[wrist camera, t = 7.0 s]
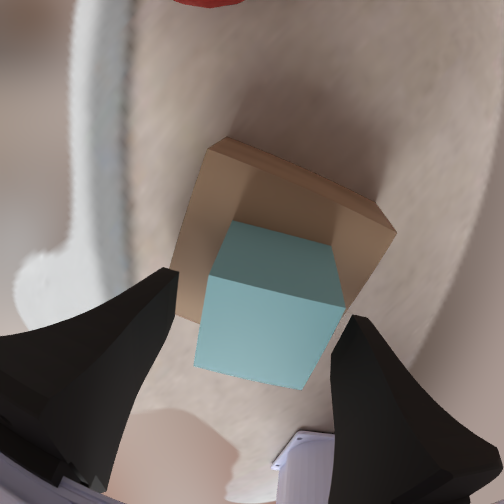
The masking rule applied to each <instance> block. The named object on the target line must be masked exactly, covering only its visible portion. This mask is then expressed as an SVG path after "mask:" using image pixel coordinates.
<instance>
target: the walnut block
mask: <svg viewBox="0 0 504 504" xmlns="http://www.w3.org/2000/svg"><path fill="white" fill-rule="evenodd" d="M232 220H233V221H237V222H241V223H245V224H249V225H253V226H257V227H261V228H265V229H268V230H272V231H276V232H280V233H284V234H288V235H292V236H295V237H299V238H303V239H307V240H311V241H314V242H318V243H322V244H326V245H329V246H331V247H332V251H333V255H334V259H335V263H336V267H337V271H338V276H339V280H340V284H341V289H342V293H343V297H344V302H345V307H346V309H345V311H344V313H343V315H344V314H345V312H346V311H347V309H348V308H349V307H350V305H351V304H352V302H353V301H354V299H355V298H356V297H357V295H358V294H359V292H360V291H361V289H362V288H363V286H364V285H365V283H366V282H367V280H368V279H369V277H370V276H371V274H372V273H373V271H374V269H375V268H376V266H377V265H378V263H379V262H380V260H381V259H382V257H383V255H384V254H385V252H386V251H387V249H388V247H389V246H390V244H391V242H392V241H393V239H394V237H395V236H396V234H397V232H396V230H395V229H394V227H393V226H392V225H391V223H390V222H389V220H388V219H387V218H386V216H385V215H384V214H383V212H382V211H381V209H380V208H379V207H378V205H377V204H376V203H375V202H373V201H371V200H369V199H367V198H365V197H363V196H361V195H359V194H357V193H355V192H353V191H351V190H349V189H347V188H345V187H343V186H341V185H339V184H337V183H335V182H332V181H330V180H328V179H326V178H324V177H322V176H320V175H317V174H315V173H313V172H311V171H309V170H306V169H304V168H302V167H300V166H297V165H295V164H293V163H290V162H288V161H286V160H283V159H281V158H279V157H276V156H274V155H272V154H269V153H267V152H264V151H262V150H259V149H257V148H254V147H252V146H249V145H247V144H244V143H242V142H239V141H236V140H234V139H231V138H229V137H226V138H224V139H222V140H221V141H219V142H217V143H216V144H214V145H213V146H211V147H209V148H208V149H207V151H206V154H205V157H204V160H203V163H202V166H201V169H200V171H199V174H198V177H197V180H196V183H195V186H194V189H193V192H192V195H191V198H190V201H189V204H188V208H187V211H186V214H185V217H184V220H183V223H182V227H181V230H180V233H179V237H178V240H177V243H176V247H175V250H174V253H173V257H172V260H171V264H170V267H169V269H171V270H175V271H179V281H178V290H177V299H176V309H175V314H176V315H178V316H180V317H183V318H185V319H188V320H190V321H193V322H195V323H198V324H200V322H201V316H202V310H203V305H204V299H205V293H206V287H207V282H208V276H209V273H210V271H211V268H212V266H213V264H214V261H215V259H216V257H217V254H218V252H219V250H220V248H221V245H222V243H223V241H224V238H225V236H226V234H227V231H228V229H229V227H230V225H231V222H232ZM343 315H342V317H343ZM342 317H341V318H342Z"/></svg>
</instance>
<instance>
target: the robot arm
mask: <svg viewBox="0 0 504 504" xmlns="http://www.w3.org/2000/svg"><path fill="white" fill-rule="evenodd" d="M178 281H179V271H175V270H171V269H168V268H164V267H162V268H161V269H159V270H157V271H156V272H154V273H153V274H151V275H150V276H148V277H147V278H145V279H144V280H142V281H140V282H139V283H137V284H136V285H134V286H133V287H131V288H129V289H128V290H126V291H124V292H123V293H121V294H120V295H118V296H116V297H114V298H112V299H111V300H109V301H107V302H105V303H103V304H102V305H100V306H98V307H96V308H94V309H91V310H89V311H87V312H85V313H82V314H80V315H78V316H75V317H73V318H70V319H67V320H65V321H62V322H59V323H56V324H53V325H50V326H47V327H43V328H40V329H36V330H32V331H28V332H24V333H19V334H13V335H7V336H0V504H125V503H123V502H120V501H117V500H115V499H112V498H110V497H107V496H105V495H103V494H100V493H103V492H106V491H107V487H108V483H109V479H110V475H111V471H112V467H113V464H114V461H115V457H116V454H117V451H118V447H119V444H120V441H121V438H122V434H123V431H124V429H125V426H126V423H127V420H128V417H129V415H130V412H131V409H132V407H133V404H134V401H135V399H136V396H137V394H138V392H139V390H140V387H141V385H142V384H143V382H144V380H145V378H146V376H147V374H148V372H149V370H150V368H151V367H152V365H153V363H154V361H155V359H156V357H157V355H158V354H159V352H160V350H161V348H162V346H163V344H164V342H165V340H166V338H167V335H168V333H169V330H170V328H171V325H172V323H173V320H174V317H175V309H176V299H177V290H178ZM330 381H331V393H332V404H333V416H334V428H335V434H326V433H317V432H309V431H298V432H297V433H296V434H295V435H294V437H293V438H292V439H291V441H290V442H289V443H288V445H287V446H286V447H285V448H284V450H283V451H282V452H281V454H280V455H279V456H278V457H277V459H276V460H275V461H274V462H273V464H272V465H271V469H273V470H279V477H278V488H277V499H276V504H470V497H469V495H471V494H473V493H474V492H476V491H477V490H479V489H481V488H482V487H484V486H485V485H487V484H488V483H490V482H491V481H492V480H494V479H495V478H496V477H497V476H498V475H499V474H500V473H501V472H502V470H503V465H502V461H501V458H500V455H499V451H498V449H497V447H495V446H493V445H492V444H490V443H488V442H487V441H485V440H484V439H482V438H480V437H478V436H477V435H475V434H474V433H473V432H471V431H470V430H468V429H467V428H466V427H464V426H463V425H462V424H460V423H459V422H458V421H457V420H455V419H454V418H453V417H452V416H451V415H450V414H448V413H447V412H446V411H445V410H444V409H443V408H442V407H440V405H438V404H437V403H436V402H435V401H434V400H433V399H432V398H431V397H430V395H428V393H427V392H426V391H425V390H424V389H423V388H422V387H421V386H420V385H419V384H418V382H417V381H416V380H415V379H414V378H413V376H412V375H411V374H410V373H409V372H408V370H407V369H406V368H405V367H404V365H403V364H402V363H401V361H400V360H399V359H398V357H397V356H396V355H395V353H394V352H393V351H392V349H391V348H390V347H389V345H388V344H387V342H386V341H385V340H384V338H383V337H382V336H381V334H380V333H379V331H378V330H377V329H376V327H375V326H374V325H373V324H372V322H371V321H370V320H369V319H368V318H367V317H362V316H357V315H353V314H352V316H351V318H350V320H349V322H348V324H347V326H346V328H345V330H344V332H343V333H342V335H341V337H340V339H339V341H338V343H337V344H336V346H335V348H334V350H333V352H332V353H331V371H330ZM492 504H504V500H500V501H498V502H495V503H492Z"/></svg>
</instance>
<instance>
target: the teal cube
mask: <svg viewBox="0 0 504 504" xmlns="http://www.w3.org/2000/svg"><path fill="white" fill-rule="evenodd" d="M345 309H346V307H345V302H344V297H343V293H342V289H341V284H340V280H339V276H338V271H337V267H336V263H335V259H334V255H333V251H332V247H331V246H329V245H326V244H322V243H318V242H314V241H311V240H307V239H303V238H299V237H295V236H292V235H288V234H284V233H280V232H276V231H272V230H268V229H265V228H261V227H257V226H253V225H249V224H245V223H241V222H237V221H233V220H232V222H231V225H230V227H229V229H228V231H227V234H226V236H225V238H224V241H223V243H222V245H221V248H220V250H219V252H218V254H217V257H216V259H215V261H214V264H213V266H212V268H211V271H210V273H209V276H208V282H207V287H206V293H205V299H204V305H203V310H202V316H201V322H200V328H199V334H198V341H197V347H196V353H195V359H194V366H195V367H199V368H203V369H206V370H210V371H214V372H218V373H222V374H226V375H230V376H234V377H239V378H243V379H247V380H252V381H257V382H261V383H266V384H271V385H276V386H281V387H287V388H292V389H298V390H302V389H303V387H304V385H305V384H306V382H307V380H308V378H309V377H310V375H311V373H312V371H313V370H314V368H315V366H316V364H317V363H318V361H319V359H320V357H321V355H322V353H323V352H324V350H325V348H326V346H327V344H328V342H329V340H330V338H331V337H332V335H333V333H334V331H335V329H336V327H337V325H338V323H339V321H340V319H341V317H342V315H343V313H344V311H345Z"/></svg>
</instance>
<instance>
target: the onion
mask: <svg viewBox="0 0 504 504" xmlns="http://www.w3.org/2000/svg"><path fill="white" fill-rule="evenodd" d="M174 1H176V2H179V3H182V4H185V5H192V6H198V7H204V8H214V7H220V6H226V5H233V4H238V3H240V2H242V1H244V0H174Z"/></svg>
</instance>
